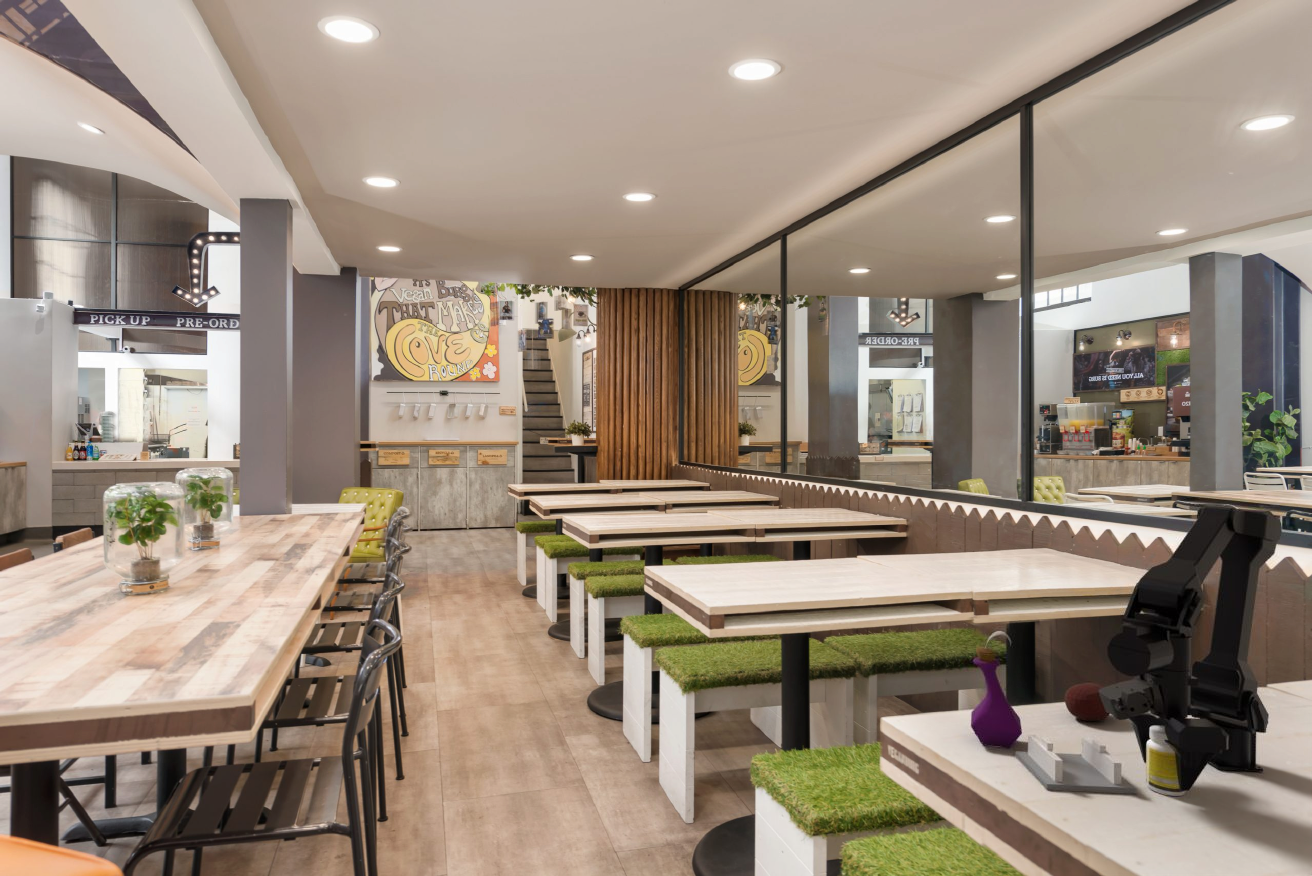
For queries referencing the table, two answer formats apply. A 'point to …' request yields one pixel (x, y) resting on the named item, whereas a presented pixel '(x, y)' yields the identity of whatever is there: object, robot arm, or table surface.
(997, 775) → the table surface
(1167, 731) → the robot arm
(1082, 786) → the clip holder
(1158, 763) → the supplement bottle
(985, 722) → the purple potion bottle
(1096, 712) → the potato
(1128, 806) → the table surface
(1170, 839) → the table surface
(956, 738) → the table surface
